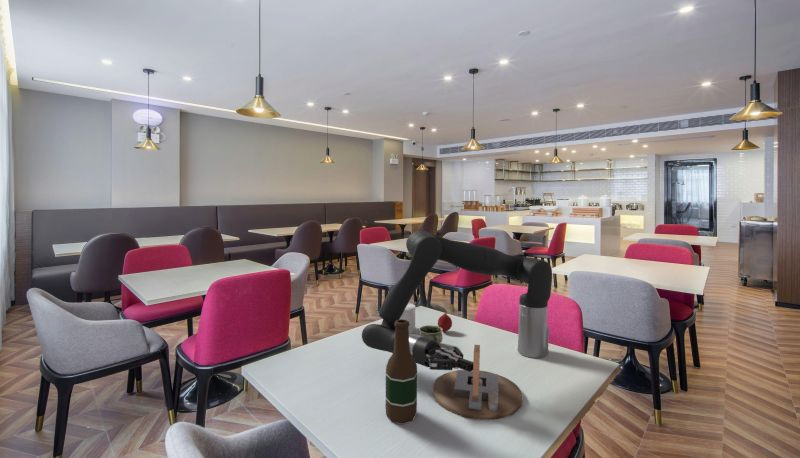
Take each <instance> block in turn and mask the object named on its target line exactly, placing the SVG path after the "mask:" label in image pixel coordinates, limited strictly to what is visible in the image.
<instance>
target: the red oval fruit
mask: <svg viewBox="0 0 800 458" xmlns="http://www.w3.org/2000/svg"><path fill="white" fill-rule="evenodd" d="M451 318H452V317H450V316H449V315H448V313H447V312H444V313H443V314H442V315H441V316H440V317H439V318H438V320H437V326H438V327H441V328H442V329H443V330H442V333H446V332H448V331H449V330H450V329H451V328H452V326H453V320H452V319H451Z"/></svg>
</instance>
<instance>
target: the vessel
mask: <svg viewBox="0 0 800 458" xmlns="http://www.w3.org/2000/svg"><path fill="white" fill-rule="evenodd" d="M418 330H419V334H418V335H419V336H423V337H426V338H429V339H433V340H435V341H437V342H438V344H439V346H440V347H442V345H441V343H442V342H443V338H444V337H443V335H442V333H443V331H442V330H443V329H442V328H441V327H438V325H430V324H429V325H428V324H427V325H423V326H420V327H419V328H418Z"/></svg>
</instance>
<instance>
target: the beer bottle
mask: <svg viewBox="0 0 800 458" xmlns="http://www.w3.org/2000/svg"><path fill="white" fill-rule="evenodd" d="M409 325H410V324H409V321H407V320H403V319H401V320H397V321H396V322H395V324H394V326H395V340H394V350H393V353H392V354H391V355H390V357H389V358H388V361H387V363H386V365H385V417H387V418H388V420H389V421H390V422H391V423H396V424H401V425H403V424H406V423H410V422H414V419H415V417H416V415H417V413H418V412H417V409H418V365H417V363H416V361H415V359H414V357H413V356H412V354H411V353H410V347H409V328H408V326H409Z"/></svg>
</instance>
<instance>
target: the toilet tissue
mask: <svg viewBox="0 0 800 458" xmlns="http://www.w3.org/2000/svg"><path fill="white" fill-rule="evenodd" d="M401 319H403V320H407V321H409V324H410V325H409V326H408V328H409V333H410V334H414V332H416V305H415V304H413V303H410V302H409V303H408V304H407V306H406V308H405V310H404V312H403V314H402V316H401V318H400V319H399V320H401Z"/></svg>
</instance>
